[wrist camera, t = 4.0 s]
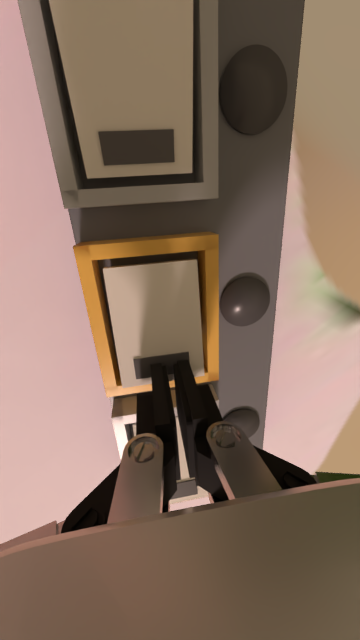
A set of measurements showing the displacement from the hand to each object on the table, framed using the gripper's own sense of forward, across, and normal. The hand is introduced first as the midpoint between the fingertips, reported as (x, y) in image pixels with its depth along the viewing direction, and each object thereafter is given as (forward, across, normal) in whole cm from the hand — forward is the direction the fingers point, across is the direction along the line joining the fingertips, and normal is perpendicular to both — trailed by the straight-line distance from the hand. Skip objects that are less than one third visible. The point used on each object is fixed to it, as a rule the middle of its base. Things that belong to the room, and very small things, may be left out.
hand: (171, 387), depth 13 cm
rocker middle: (+1, 0, -3) cm, 3 cm away
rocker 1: (+1, 0, -12) cm, 12 cm away
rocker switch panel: (+5, -1, -3) cm, 6 cm away
